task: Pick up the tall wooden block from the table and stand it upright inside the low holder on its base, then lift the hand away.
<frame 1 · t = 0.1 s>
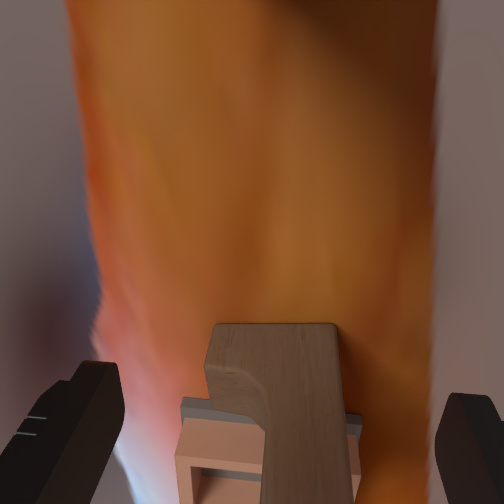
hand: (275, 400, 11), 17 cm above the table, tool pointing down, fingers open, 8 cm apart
wooden block: (275, 342, 33), on the table
block holder: (267, 449, 40), on the table
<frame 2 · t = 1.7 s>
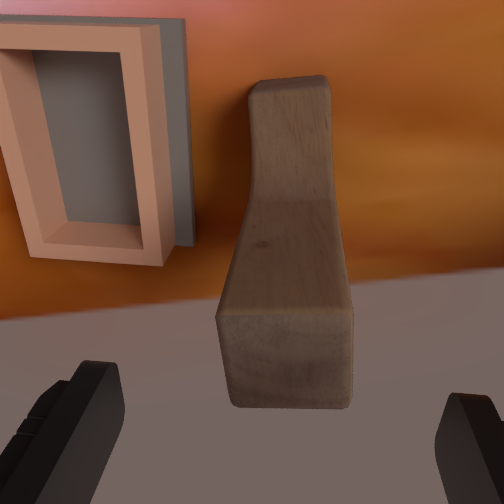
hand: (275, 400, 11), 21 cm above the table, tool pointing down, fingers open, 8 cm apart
wooden block: (294, 147, 29), on the table
block holder: (106, 139, 30), on the table
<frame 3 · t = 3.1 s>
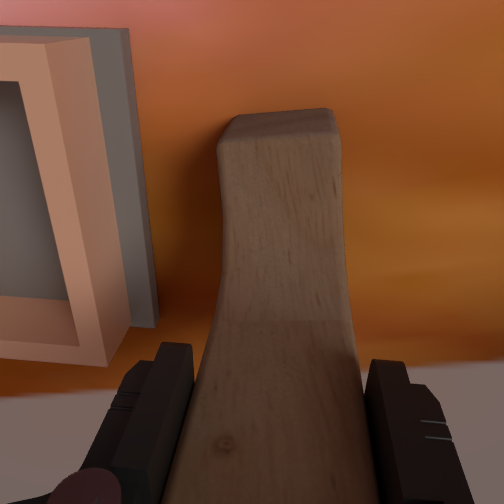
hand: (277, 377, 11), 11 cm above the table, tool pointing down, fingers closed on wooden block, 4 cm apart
wooden block: (288, 203, 21), on the table, touching gripper
block holder: (31, 191, 22), on the table
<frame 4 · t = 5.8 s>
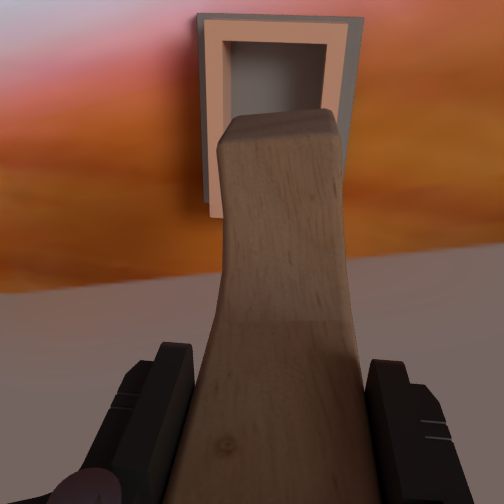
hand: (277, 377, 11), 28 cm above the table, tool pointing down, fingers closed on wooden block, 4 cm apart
wooden block: (288, 203, 21), point 17 cm above the table, touching gripper
block holder: (275, 118, 36), on the table
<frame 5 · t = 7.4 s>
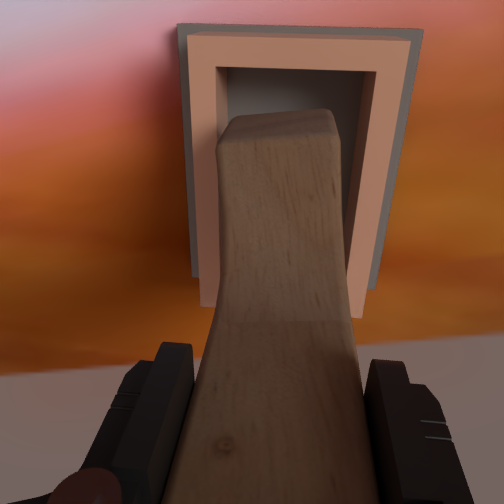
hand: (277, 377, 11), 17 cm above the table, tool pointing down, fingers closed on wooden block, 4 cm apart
wooden block: (287, 203, 21), point 5 cm above the table, touching gripper
block holder: (289, 168, 26), on the table
when the fingers open (13 cm above the table, at t = 8.5 s): wooden block stays where it is, resting on block holder.
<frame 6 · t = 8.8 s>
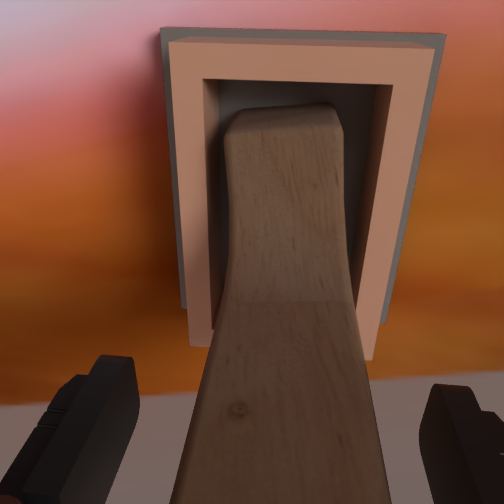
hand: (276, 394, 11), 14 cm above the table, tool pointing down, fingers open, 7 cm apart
wooden block: (289, 194, 22), point 1 cm above the table, touching block holder
block holder: (289, 190, 23), on the table
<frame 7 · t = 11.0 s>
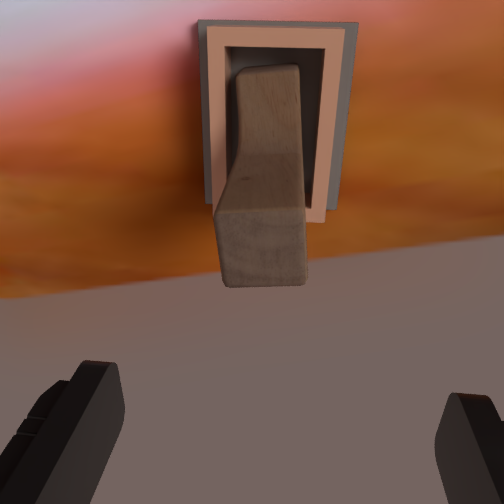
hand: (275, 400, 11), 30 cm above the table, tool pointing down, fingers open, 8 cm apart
wooden block: (273, 122, 36), point 1 cm above the table, touching block holder
block holder: (273, 120, 37), on the table
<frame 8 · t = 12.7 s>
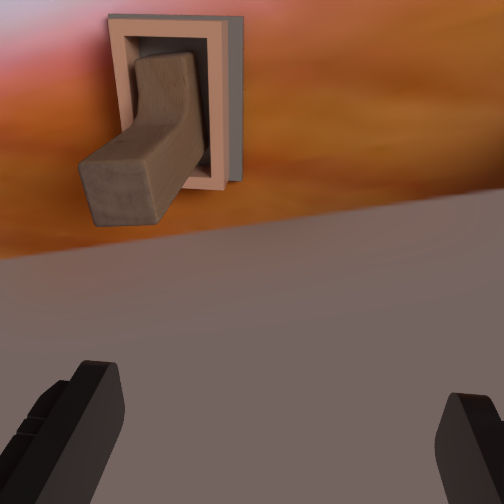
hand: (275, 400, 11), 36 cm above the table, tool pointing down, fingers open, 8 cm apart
wooden block: (180, 102, 42), point 1 cm above the table, touching block holder
block holder: (182, 102, 43), on the table
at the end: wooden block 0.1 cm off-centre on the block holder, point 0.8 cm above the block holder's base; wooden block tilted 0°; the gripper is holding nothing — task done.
